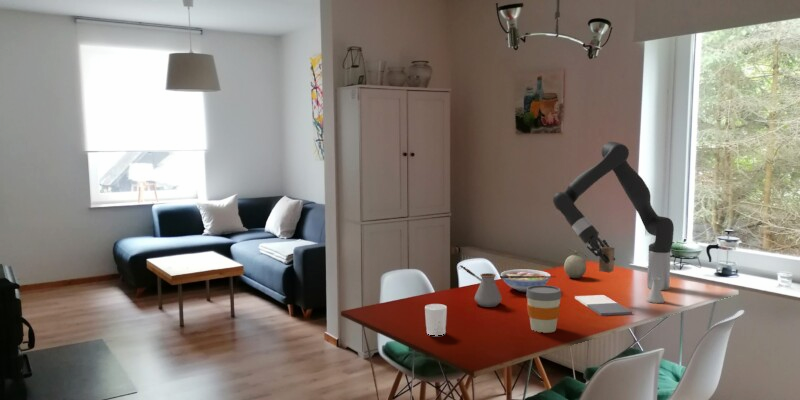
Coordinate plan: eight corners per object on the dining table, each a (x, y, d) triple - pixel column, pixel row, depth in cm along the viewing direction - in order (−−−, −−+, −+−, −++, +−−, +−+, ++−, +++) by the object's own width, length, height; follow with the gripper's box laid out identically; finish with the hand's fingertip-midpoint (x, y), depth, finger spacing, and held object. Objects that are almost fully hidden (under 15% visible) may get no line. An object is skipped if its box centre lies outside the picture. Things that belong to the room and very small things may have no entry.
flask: (666, 304, 253) (667, 280, 252) (648, 303, 254) (648, 280, 253) (662, 299, 260) (663, 276, 259) (644, 298, 261) (645, 276, 260)
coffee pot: (507, 304, 257) (507, 269, 255) (490, 310, 249) (490, 274, 247) (468, 295, 272) (467, 262, 270) (451, 300, 264) (451, 267, 262)
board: (574, 298, 263) (574, 296, 263) (603, 297, 265) (603, 294, 265) (600, 315, 238) (600, 313, 238) (632, 314, 239) (632, 311, 239)
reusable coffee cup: (537, 321, 232) (537, 283, 230) (567, 328, 223) (567, 288, 222) (519, 329, 223) (519, 289, 221) (549, 336, 214) (550, 295, 213)
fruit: (590, 280, 296) (590, 250, 295) (567, 280, 297) (567, 250, 295) (584, 275, 307) (584, 246, 305) (561, 275, 307) (561, 246, 305)
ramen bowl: (547, 283, 291) (547, 267, 290) (558, 296, 268) (558, 278, 267) (495, 284, 291) (495, 267, 291) (501, 296, 269) (501, 278, 268)
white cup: (424, 330, 224) (423, 304, 223) (445, 329, 224) (444, 303, 223) (426, 337, 216) (426, 310, 215) (448, 336, 216) (448, 309, 215)
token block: (599, 271, 256) (599, 247, 255) (603, 269, 259) (604, 246, 258) (608, 272, 253) (609, 249, 252) (613, 271, 256) (614, 247, 255)
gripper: (583, 226, 254) (609, 258, 247) (598, 223, 264) (624, 254, 257) (571, 237, 258) (597, 269, 251) (587, 233, 268) (612, 264, 261)
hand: (610, 261), depth 254 cm, fingers closed on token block, 4 cm apart
